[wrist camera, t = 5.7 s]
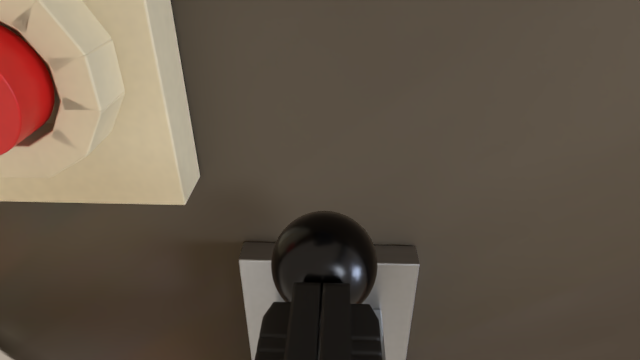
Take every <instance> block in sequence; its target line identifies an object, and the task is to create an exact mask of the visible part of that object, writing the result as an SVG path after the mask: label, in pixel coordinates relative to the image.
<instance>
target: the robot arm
mask: <svg viewBox="0 0 640 360" xmlns="http://www.w3.org/2000/svg"><path fill="white" fill-rule="evenodd" d="M380 339H381V338H380V326H379V319H378V318H377V316H376V314H375V312H374V311H373V309H372V307H371V306H370V304H350V283H323V294H322V314H321V283H308V282H294V285H293V292H292V300H291V302H273V303H272V305H271V306H270V308H269V309H268V310H267V312H266V313H265V315H264V316H263V319H262V324H261V329H260V334H259V339H258V345H257V352H256V355H255V360H382V349H381V340H380Z"/></svg>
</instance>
